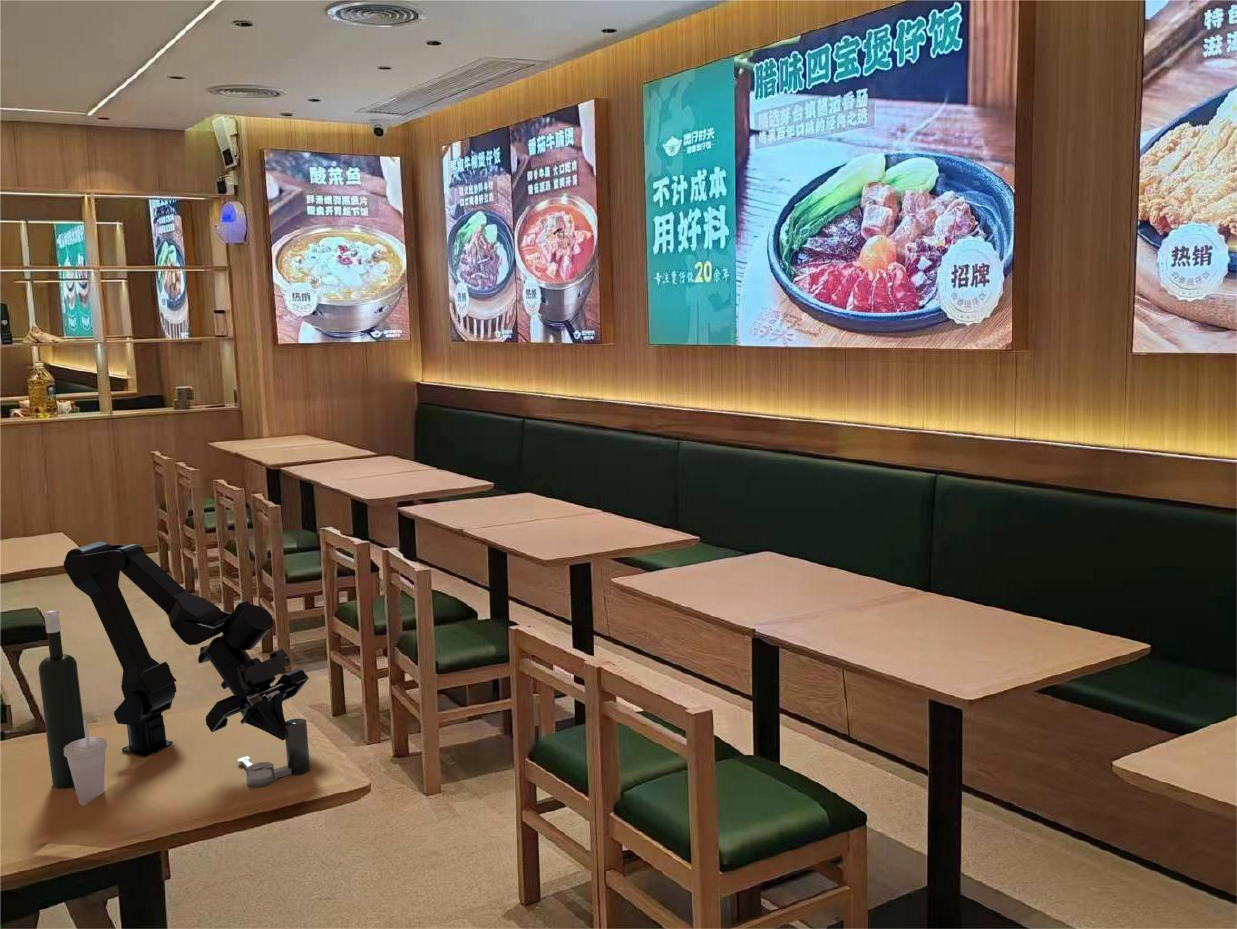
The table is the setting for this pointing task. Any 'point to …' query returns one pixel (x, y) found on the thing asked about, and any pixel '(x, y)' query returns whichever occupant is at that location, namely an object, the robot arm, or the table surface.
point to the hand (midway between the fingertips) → (285, 738)
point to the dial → (296, 757)
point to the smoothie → (87, 765)
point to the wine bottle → (60, 702)
